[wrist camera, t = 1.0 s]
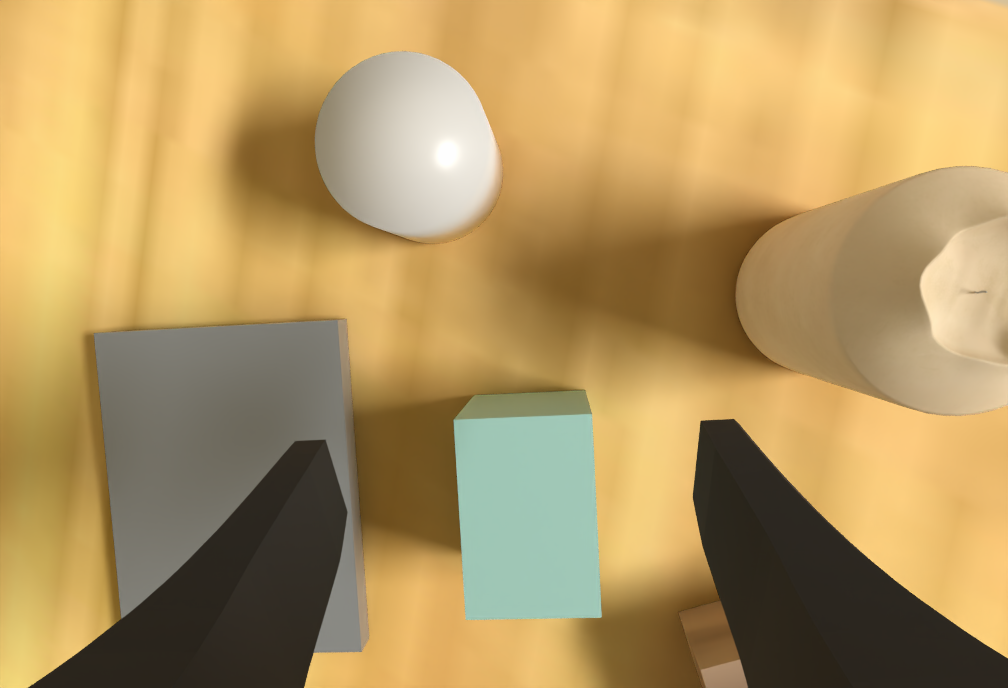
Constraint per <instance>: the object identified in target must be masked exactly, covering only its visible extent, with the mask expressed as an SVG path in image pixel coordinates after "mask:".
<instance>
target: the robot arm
mask: <svg viewBox="0 0 1008 688" xmlns="http://www.w3.org/2000/svg"><path fill="white" fill-rule="evenodd" d="M693 501H694V506H695V511H696V516H697V521H698V526H699V531H700V536H701V540H702V545H703V549H704V552H705V555H706V558H707V561H708V564H709V567H710V570H711V573H712V576H713V580H714V583H715V586H716V589H717V592H718V595H719V598H720V601H721V604H722V606H723V609H724V612H725V615H726V618H727V621H728V624H729V627H730V630H731V633H732V636H733V639H734V642H735V645H736V648H737V651H738V654H739V657H740V661H741V664H742V668H743V671H744V675H745V678H746V682H747V686H748V688H1008V658H1006V657H1004V656H1003V655H1001V654H1000V653H998V652H996V651H995V650H993V649H992V648H990V647H988V646H987V645H985V644H984V643H982V642H980V641H979V640H977V639H976V638H974V637H973V636H971V635H970V634H968V633H967V632H965V631H964V630H962V629H961V628H960V627H958V626H957V625H955V624H954V623H953V622H951V621H950V620H948V619H947V618H945V617H944V616H943V615H941V614H940V613H938V612H937V611H936V610H934V609H933V608H931V607H930V606H928V605H927V604H926V603H924V602H923V601H921V600H920V599H919V598H917V597H916V596H915V595H913V594H912V593H911V592H909V591H908V590H907V589H905V588H904V587H903V586H901V585H900V584H899V583H898V582H896V581H895V580H894V579H893V578H891V577H890V576H889V575H888V574H887V573H885V572H884V571H883V570H882V569H880V568H879V567H878V566H877V565H876V564H874V563H873V562H872V561H871V560H870V559H868V558H867V557H866V556H865V555H864V554H863V553H862V552H860V551H859V550H858V549H857V548H856V547H855V546H854V545H853V544H852V543H850V542H849V541H848V540H847V539H846V538H845V537H844V536H843V535H842V534H841V533H840V532H839V531H838V530H836V529H835V528H834V527H833V526H832V525H831V524H830V523H829V522H828V521H827V520H826V519H825V518H824V517H823V516H822V515H821V514H820V513H819V512H818V511H817V510H816V509H815V508H814V507H813V506H812V505H811V504H810V503H809V502H808V501H807V500H806V499H805V498H804V497H803V496H802V495H801V494H800V493H799V492H798V491H797V489H796V488H795V487H794V486H793V485H792V484H791V483H790V482H789V481H788V480H787V479H786V478H785V477H784V476H783V474H782V473H781V472H780V471H779V470H778V469H777V468H776V467H775V466H774V464H773V463H772V462H771V461H770V460H769V459H768V458H767V456H766V455H765V454H764V453H763V452H762V451H761V450H760V448H759V447H758V446H757V445H756V444H755V442H754V441H753V440H752V439H751V438H750V436H749V435H748V434H747V433H746V432H745V430H744V429H743V428H742V427H741V426H740V424H739V423H738V422H736V421H735V420H734V419H726V420H706V421H701V423H700V433H699V442H698V452H697V461H696V471H695V481H694V490H693ZM347 513H348V511H347V508H346V505H345V502H344V498H343V495H342V492H341V488H340V485H339V482H338V479H337V475H336V472H335V469H334V465H333V462H332V459H331V456H330V452H329V449H328V446H327V442H326V439H325V440H305V441H295V442H294V443H293V444H292V445H291V446H290V447H289V448H288V450H287V451H286V452H285V453H284V454H283V455H282V456H281V458H280V459H279V460H278V461H277V462H276V463H275V465H274V466H273V467H272V468H271V469H270V470H269V472H268V473H267V474H266V475H265V476H264V478H263V479H262V480H261V481H260V482H259V483H258V485H257V486H256V487H255V488H254V489H253V490H252V492H251V493H250V494H249V495H248V496H247V497H246V498H245V500H244V501H243V502H242V503H241V504H240V505H239V506H238V507H237V509H236V510H235V511H234V512H233V513H232V514H231V515H230V516H229V517H228V519H227V520H226V521H225V522H224V523H223V524H222V525H221V526H220V527H219V528H218V530H217V531H216V532H215V533H214V534H213V535H212V536H211V537H210V538H209V539H208V540H207V541H206V542H205V543H204V544H203V545H202V546H201V547H200V548H199V549H198V550H197V551H196V552H195V553H194V554H193V555H192V556H191V557H190V558H189V559H188V560H187V561H186V562H185V563H184V564H183V565H182V566H181V567H180V568H179V569H178V570H177V571H176V572H175V573H174V574H173V575H172V576H171V577H170V578H169V579H168V580H166V581H165V582H164V583H163V584H162V585H161V586H160V587H159V588H157V589H156V590H155V591H154V592H153V593H152V594H151V595H150V596H148V597H147V598H146V599H145V600H144V601H143V602H142V603H140V604H139V605H138V606H137V607H136V608H135V609H133V610H132V611H131V612H130V613H128V614H127V615H126V616H125V617H123V618H122V619H121V620H120V621H118V622H117V623H116V624H114V625H113V626H112V627H111V628H109V629H108V630H107V631H106V632H104V633H103V634H102V635H100V636H99V637H98V638H97V639H95V640H94V641H93V642H92V643H90V644H89V645H88V646H86V647H85V648H84V649H83V650H81V651H80V652H78V653H77V654H76V655H74V656H73V657H72V658H70V659H69V660H67V661H66V662H65V663H63V664H62V665H60V666H59V667H58V668H56V669H55V670H53V671H52V672H51V673H49V674H48V675H46V676H45V677H43V678H42V679H40V680H39V681H37V682H36V683H34V684H33V685H31V686H30V687H28V688H304V686H305V682H306V678H307V674H308V670H309V666H310V663H311V659H312V656H313V653H314V649H315V646H316V642H317V639H318V636H319V632H320V629H321V625H322V622H323V619H324V615H325V612H326V608H327V605H328V602H329V598H330V595H331V591H332V588H333V584H334V581H335V577H336V574H337V570H338V567H339V563H340V558H341V552H342V547H343V541H344V534H345V527H346V520H347Z"/></svg>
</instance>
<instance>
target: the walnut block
mask: <svg viewBox="0 0 1008 688" xmlns="http://www.w3.org/2000/svg"><path fill="white" fill-rule="evenodd" d="M678 614H679V617H680V620H681V623H682V626H683V629H684V632H685V635H686V639H687V642H688V645H689V648H690V651H691V654H692V657H693V660H694V663H695V667H696V670H697V673H698V676H699V679H700V682H701V685H702V688H748V686H747V682H746V678H745V675H744V671H743V668H742V664H741V661H740V657H739V654H738V651H737V648H736V645H735V642H734V639H733V636H732V633H731V630H730V627H729V624H728V621H727V618H726V615H725V612H724V609H723V606H722V604H721V601H716V602H713V603H709V604H705V605H702V606H698V607H694V608H691V609H687V610H683V611H680V612H678Z"/></svg>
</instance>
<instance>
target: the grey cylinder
mask: <svg viewBox="0 0 1008 688" xmlns="http://www.w3.org/2000/svg"><path fill="white" fill-rule="evenodd" d="M315 153H316V160H317V164H318V168H319V171H320V174H321V176H322V179H323V181H324V183H325V185H326V187H327V188H328V190H329V192H330V193H331V195H332V196H333V197H334V199H335V200H336V201H337V202H338V203H339V204H340V205H341V206H342V208H343V209H344V210H346V211H347V212H348V213H350V214H351V215H352V216H353V217H355V218H357V219H358V220H360V221H362V222H364V223H366V224H368V225H371V226H373V227H376V228H378V229H381V230H384V231H387V232H390V233H392V234H395V235H398V236H401V237H403V238H406V239H409V240H412V241H416V242H419V243H426V244H440V243H447V242H451V241H455V240H457V239H460V238H462V237H464V236H466V235H468V234H469V233H471V232H472V231H474V230H475V229H476V228H478V227H479V226H480V225H481V224H482V223H483V222H484V221H485V220H486V218H487V217H488V216H489V215H490V213H491V212H492V210H493V208H494V206H495V205H496V202H497V200H498V198H499V195H500V191H501V188H502V181H503V163H502V157H501V153H500V149H499V147H498V144H497V142H496V139H495V137H494V134H493V132H492V129H491V127H490V125H489V122H488V120H487V117H486V115H485V112H484V110H483V108H482V105H481V103H480V100H479V99H478V97H477V95H476V93H475V92H474V90H473V89H472V87H471V86H470V85H469V83H468V82H467V81H466V80H465V79H464V78H463V77H462V76H461V75H460V74H459V73H458V72H457V71H456V70H454V69H453V68H452V67H450V66H449V65H447V64H446V63H444V62H442V61H440V60H438V59H436V58H433V57H431V56H428V55H425V54H421V53H416V52H407V51H402V52H389V53H383V54H380V55H377V56H373V57H371V58H369V59H366V60H364V61H362V62H360V63H359V64H357V65H356V66H354V67H352V68H351V69H350V70H349V71H348V72H346V73H345V74H344V75H343V76H342V77H341V78H340V79H339V80H338V81H337V82H336V83H335V85H334V86H333V88H332V89H331V90H330V92H329V93H328V95H327V97H326V99H325V101H324V103H323V105H322V108H321V110H320V113H319V116H318V120H317V124H316V131H315Z"/></svg>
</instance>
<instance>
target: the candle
mask: <svg viewBox="0 0 1008 688" xmlns="http://www.w3.org/2000/svg"><path fill="white" fill-rule="evenodd" d="M735 299H736V308H737V312H738V316H739V319H740V322H741V325H742V327H743V329H744V331H745V333H746V334H747V336H748V337H749V339H750V340H751V341H752V343H753V344H754V345H755V346H756V347H757V348H758V349H759V350H760V351H761V352H762V353H763V354H764V355H765V356H766V357H768V358H769V359H770V360H772V361H774V362H775V363H777V364H779V365H781V366H783V367H786V368H788V369H790V370H793V371H796V372H798V373H801V374H804V375H808V376H811V377H814V378H817V379H820V380H823V381H826V382H829V383H832V384H835V385H838V386H841V387H845V388H848V389H851V390H854V391H857V392H860V393H863V394H866V395H869V396H872V397H875V398H879V399H882V400H885V401H888V402H891V403H894V404H897V405H900V406H903V407H906V408H910V409H913V410H917V411H921V412H924V413H929V414H936V415H943V416H964V415H973V414H980V413H984V412H988V411H993V410H996V409H998V408H1001V407H1004V406H1007V405H1008V173H1007V172H1003V171H999V170H995V169H991V168H984V167H975V166H956V167H949V168H941V169H936V170H933V171H929V172H925V173H921V174H918V175H915V176H912V177H909V178H906V179H903V180H900V181H897V182H894V183H891V184H888V185H885V186H882V187H879V188H876V189H873V190H870V191H867V192H864V193H861V194H858V195H855V196H852V197H849V198H846V199H843V200H840V201H837V202H834V203H831V204H828V205H825V206H822V207H819V208H816V209H813V210H810V211H807V212H804V213H801V214H799V215H796V216H794V217H791V218H789V219H787V220H784V221H782V222H781V223H779V224H777V225H775V226H774V227H773V228H771V229H770V230H768V231H767V232H766V233H765V234H764V235H763V236H762V237H761V238H760V239H759V240H758V241H757V242H756V243H755V244H754V245H753V247H752V248H751V249H750V251H749V252H748V254H747V256H746V257H745V259H744V261H743V263H742V265H741V268H740V271H739V274H738V277H737V283H736V297H735Z"/></svg>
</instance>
